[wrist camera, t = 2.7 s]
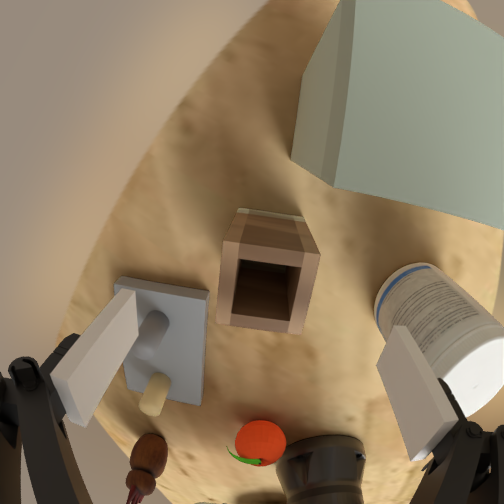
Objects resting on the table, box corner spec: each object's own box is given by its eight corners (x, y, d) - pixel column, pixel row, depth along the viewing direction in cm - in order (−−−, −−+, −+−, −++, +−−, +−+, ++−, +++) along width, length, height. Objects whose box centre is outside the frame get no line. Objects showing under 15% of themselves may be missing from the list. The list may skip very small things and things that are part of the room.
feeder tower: (373, 179, 26) (508, 239, 9) (289, 163, 26) (331, 197, 9) (385, 95, 23) (525, 54, 6) (302, 75, 23) (356, -31, 6)
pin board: (203, 395, 36) (193, 435, 30) (132, 379, 36) (114, 415, 30) (209, 291, 31) (194, 329, 24) (121, 275, 31) (90, 306, 24)
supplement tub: (359, 329, 32) (399, 431, 18) (388, 251, 28) (464, 332, 14) (426, 336, 32) (478, 421, 18) (456, 267, 28) (535, 337, 15)
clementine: (230, 435, 39) (224, 472, 33) (229, 407, 37) (223, 448, 30) (282, 438, 39) (283, 475, 32) (288, 411, 37) (290, 452, 30)
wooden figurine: (139, 424, 40) (110, 497, 26) (173, 435, 40) (151, 511, 26) (138, 443, 43) (114, 509, 28) (169, 453, 43) (150, 521, 29)
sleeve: (292, 275, 30) (301, 334, 20) (231, 267, 30) (215, 323, 20) (303, 216, 28) (320, 254, 18) (238, 207, 28) (223, 240, 18)
